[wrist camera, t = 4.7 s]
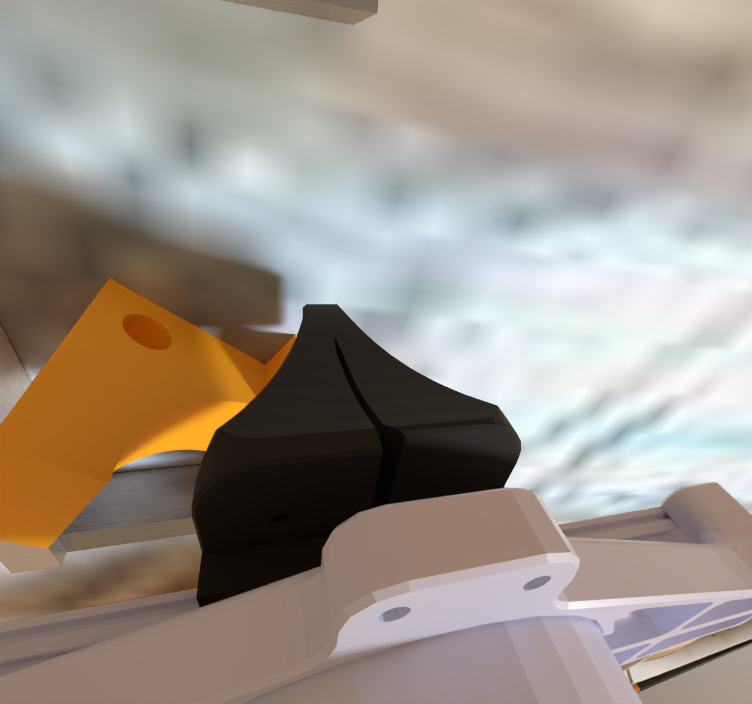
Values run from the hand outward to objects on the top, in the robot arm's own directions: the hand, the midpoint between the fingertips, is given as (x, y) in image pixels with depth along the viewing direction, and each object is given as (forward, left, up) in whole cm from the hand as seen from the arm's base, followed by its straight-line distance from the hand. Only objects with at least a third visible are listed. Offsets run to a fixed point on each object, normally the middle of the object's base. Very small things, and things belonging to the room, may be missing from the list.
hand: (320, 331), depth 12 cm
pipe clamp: (-3, +2, -2) cm, 4 cm away
